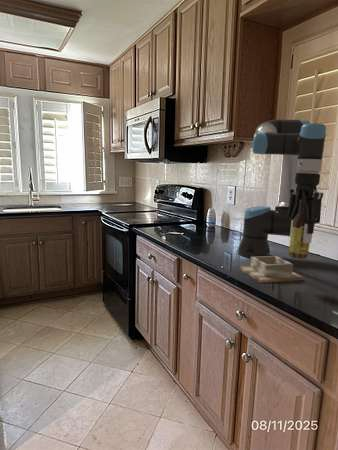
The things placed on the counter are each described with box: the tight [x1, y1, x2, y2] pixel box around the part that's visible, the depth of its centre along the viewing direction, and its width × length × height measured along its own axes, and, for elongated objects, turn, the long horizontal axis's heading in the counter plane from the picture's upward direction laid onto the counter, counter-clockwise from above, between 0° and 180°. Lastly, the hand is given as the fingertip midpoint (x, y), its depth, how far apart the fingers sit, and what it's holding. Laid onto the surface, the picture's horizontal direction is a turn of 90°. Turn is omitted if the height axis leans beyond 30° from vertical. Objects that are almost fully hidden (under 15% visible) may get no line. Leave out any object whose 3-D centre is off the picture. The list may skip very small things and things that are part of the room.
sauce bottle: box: [288, 200, 311, 260], centre depth 108 cm, size 7×6×20 cm
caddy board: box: [239, 255, 304, 284], centre depth 124 cm, size 16×18×6 cm
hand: (300, 240), depth 109 cm, fingers closed on sauce bottle, 6 cm apart
